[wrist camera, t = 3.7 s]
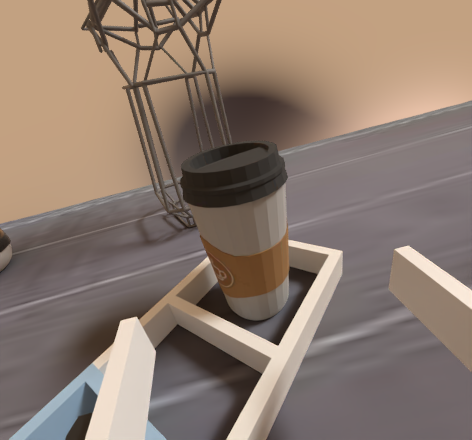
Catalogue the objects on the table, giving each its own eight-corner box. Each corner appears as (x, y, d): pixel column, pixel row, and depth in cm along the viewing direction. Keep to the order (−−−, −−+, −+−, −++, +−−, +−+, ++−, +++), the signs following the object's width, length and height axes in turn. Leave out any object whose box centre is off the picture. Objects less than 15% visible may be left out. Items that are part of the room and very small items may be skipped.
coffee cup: (205, 295, 28) (159, 164, 20) (264, 259, 31) (242, 136, 24) (249, 350, 21) (203, 186, 14) (318, 298, 24) (310, 143, 17)
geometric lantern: (221, 187, 55) (176, -26, 38) (261, 212, 43) (221, -90, 25) (151, 213, 50) (61, -22, 32) (173, 250, 37) (45, -101, 20)
